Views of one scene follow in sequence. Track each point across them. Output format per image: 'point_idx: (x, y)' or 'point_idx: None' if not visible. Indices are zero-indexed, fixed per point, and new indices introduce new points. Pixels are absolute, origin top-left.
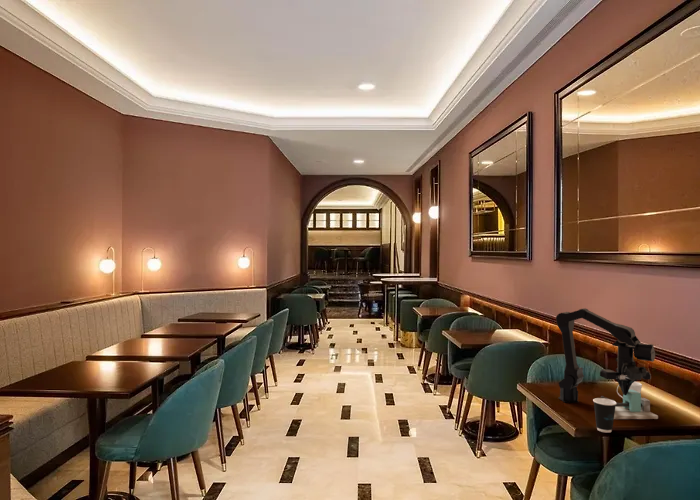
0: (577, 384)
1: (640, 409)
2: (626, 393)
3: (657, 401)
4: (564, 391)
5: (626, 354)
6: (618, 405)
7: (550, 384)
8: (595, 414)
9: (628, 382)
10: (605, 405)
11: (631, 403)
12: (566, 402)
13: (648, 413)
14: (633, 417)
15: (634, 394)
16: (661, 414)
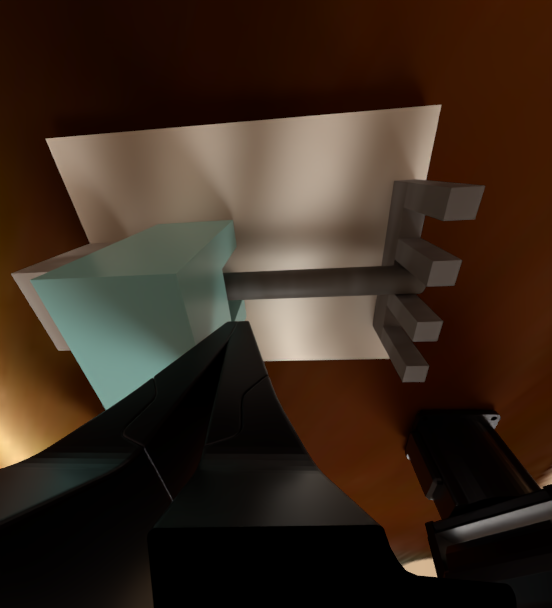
0: (435, 535)
1: (152, 227)
2: (225, 330)
3: (29, 422)
4: (529, 478)
5: None
6: (316, 269)
7: None
8: None
9: (112, 491)
10: None
11: (215, 235)
12: (489, 410)
13: (109, 200)
14: (258, 123)
15: (136, 269)
16: (29, 246)
